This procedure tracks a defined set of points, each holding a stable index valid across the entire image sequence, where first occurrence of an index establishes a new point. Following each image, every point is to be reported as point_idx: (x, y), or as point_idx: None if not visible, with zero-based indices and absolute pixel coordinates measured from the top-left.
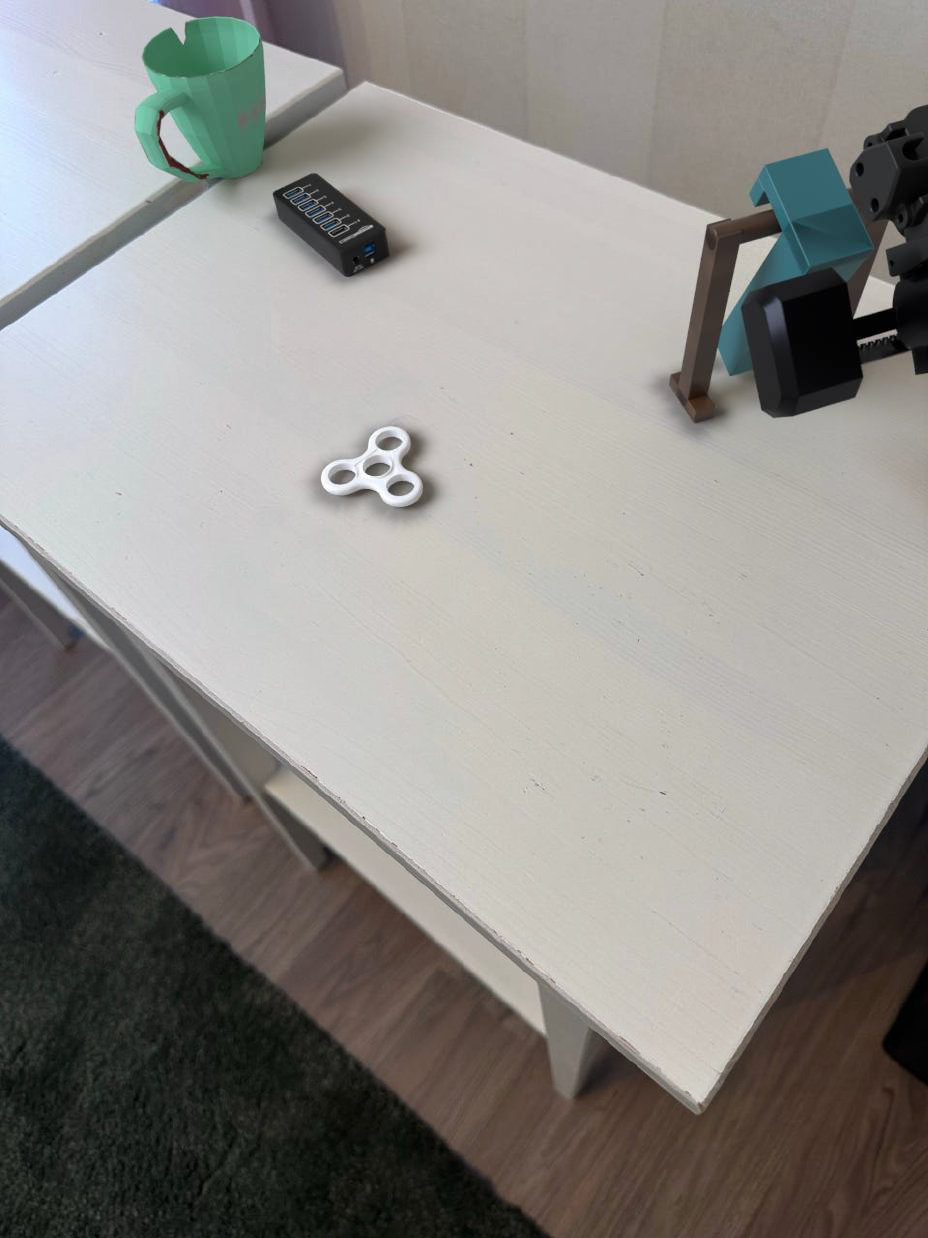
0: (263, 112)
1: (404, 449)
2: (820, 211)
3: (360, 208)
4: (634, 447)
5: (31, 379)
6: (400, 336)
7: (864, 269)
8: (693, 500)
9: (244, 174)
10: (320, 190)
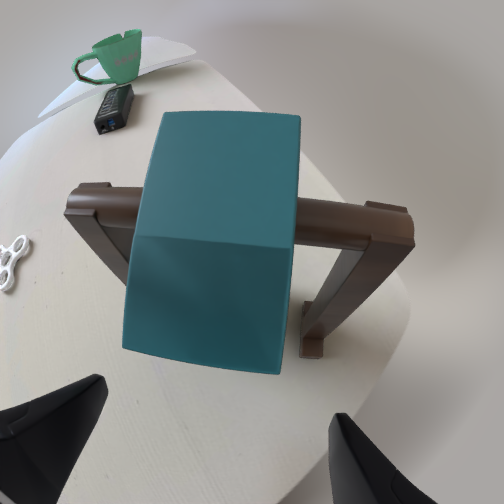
0: (132, 60)
1: (18, 254)
2: (205, 238)
3: (124, 101)
4: (108, 333)
5: (2, 159)
6: (81, 176)
7: (348, 305)
8: (112, 405)
9: (122, 83)
10: (122, 91)
